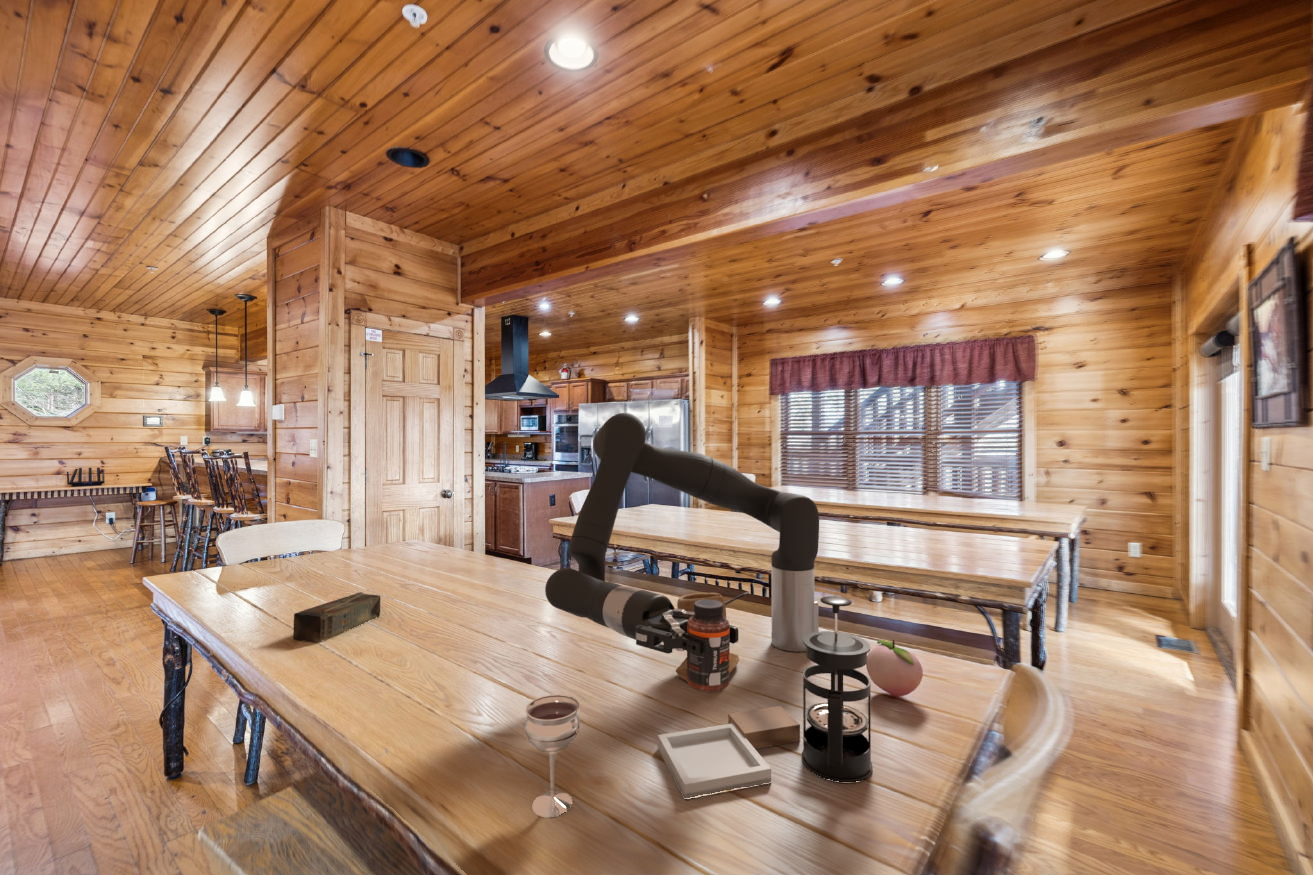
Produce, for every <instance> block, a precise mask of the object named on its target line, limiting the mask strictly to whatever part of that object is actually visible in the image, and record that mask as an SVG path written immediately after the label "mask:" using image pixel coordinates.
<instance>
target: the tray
mask: <svg viewBox="0 0 1313 875" xmlns="http://www.w3.org/2000/svg"><path fill="white" fill-rule="evenodd" d="M657 749H658V752H659V753H660V755H661V758H662V759H663V761H664V763H665V765H666V767H667V769H668V770H670V771H669V773H670V772H671V773H670V774H672V775H671V777H672V776H673V777H672V779H673V778H674V779H675V781H676V782H675V781H674V782H675V784H676V783H677V784H676V786H677V785H678V786H677V788H678V787H679V788H678V790H679V789H680V790H679V792H680V791H681V792H682V794H683V796H684V798H690V797H695V796H698V795H703V794H710V793H711V794H712V793H715V792H720V791H724V790H731V789H734V788H741V787H750V786H754V785H761V784H763V783H769V782H771V783H772V767H771V766H770V765H769V764H768V763H767V761H766V760H765V759H764V757H763V756H761V754H760V753H759V752H758V751H757V750H756V749H755V748H754V747H753V746H752V745H751V744H750V742H749V741H748V740H747V739H746V738H745V736H744V735H743V734H742V733H741V732H740V730H739V729H738V728H737V727H736V725H735V724H734V723H732V724H728V723H727V724H726V723H725V724H719V725H715V726H707V727H701V728H695V729H694V728H693V729H688V730H681V731H675V732H668V733H663V734H662V733H661V734H658V735H657ZM674 779H673V780H674ZM681 792H680V793H681ZM682 794H681V795H682ZM683 796H682V797H683ZM684 798H683V799H684Z"/></svg>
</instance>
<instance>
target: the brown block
mask: <svg viewBox="0 0 1313 875" xmlns="http://www.w3.org/2000/svg"><path fill="white" fill-rule="evenodd" d="M727 714H728V715H727V716H728V717H727V718H728V720H727V721H728V722H727V724H732V723H734V724H735V725H736V727H737V728H738V729H739V730H740V732H741V733H742V734H743V735H744V736H745V738H746V739H747V740H748V741H749V742H750V744H751V745H752V746H753V747H754V748H755V750H756V748H758V749H762V748H761V747H764V748H767V747H766V746H769V747H773V746H772V745H775V746H780V744H781V745H785V744H793V743H798V742H801V724H800V723H799V722H798V721H797V720H796V719H795V718H794V717H793V716H792V715H791V714H790V713H788V712H787V711H786V709H784V708H783V707H782V706H781V705H779V706H777V705H776V706H770V707H765V708H764V707H763V708H758V709H751V710H743V711H738V712H736V711H735V712H732V713H727ZM792 742H793V743H792ZM770 745H771V746H770ZM759 747H760V748H759Z"/></svg>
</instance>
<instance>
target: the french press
mask: <svg viewBox="0 0 1313 875" xmlns="http://www.w3.org/2000/svg"><path fill="white" fill-rule="evenodd" d="M820 602H821V603H822V604H824V605H827V606H831V607H832V613H833V614H834V631H832V630H831V631H829V630H828V631H827V630H826V631H818V632H814V633H810V634H807V635H806V636H804V638H803V643H804V645H805V646H806V651H805V652H806V655H805V656H806V657H807V659H808V660H810V662H812V663H814V665H811V666H808V667H806V668H805V669H804V671H802V672H803V674H802V675H803V676H802V677H803V678H802V684H803V685H802V688H803V689H802V692H803V693H802V694H803V695H802V696H803V697H802V700H803V701H802V703H803V704H802V707H803V708H802V709H803V710H802V712H803V714H802V717H803V719H802V722H803V723H802V725H803V728H802V729H803V732H802V736H803V738H802V739H803V744H802V745H803V750H802V752H801V760H802V763H803V765H804V766H805V768H806V769H807V770H808V771H809V770H810V771H809V772H811V773H812V772H813V773H814V775H815V774H816V775H815V776H817V775H818V776H817V777H819V776H820V777H819V778H821V779H823V778H825V779H824V780H826V779H830V780H833V781H839V782H856V781H862V780H864V781H866V780H868V777H869V776H870V777H871V775H872V774H871V773H873V768H874V767H873V762H872V759H871V758H872V757H871V754H872V753H871V752H872V751H871V750H872V748H871V746H872V742H871V741H872V740H871V738H872V737H871V734H872V733H871V732H872V731H871V729H872V728H871V727H872V725H871V723H872V720H871V718H872V717H871V715H872V714H871V713H872V712H871V704H872V703H871V701H872V700H871V678H870V677H868V675H867V674H865V673H863V672H862V671H860V670H858V669H860V668H863V667H864V666H866V663H867V656H868V654H869V652H870V651H871V645H870V643H869V642H868V641H867V640H866V639H864V638H862V637H860V636H857V635H854V634H850V633H845V632H839V631H838V614H840V607H847V606H850V605H852V604H853V602H852V600H850V599H849V598H846V597H842V596H837V595H829V596H822V597H821V598H820ZM822 674H824V675H825V674H827V675H828V674H830V689H829V688H826V687H822V686H819V685H817V684H815V683H813V682H811V681H810V680H809V679H808V678H810V677H812V676H815V675H822ZM844 676H846V677H849V678H851V679H854V680H857V681H859V682H860V683H862V684H863V685H864V686H865V687H863V688H860V689H856V690H849V691H847V690H844ZM806 690H807V691H808V693H809V692H810V693H811V694H813V695H815V696H817V697H819V698H822V699H826V700H827V702H821V703H820V702H819V703H814V704H812V705H809V706H808V707H807V708H806V706H807V705H806V700H807V698H806V697H807V696H806V695H807V694H806V693H807V692H806ZM865 699H868V700H867V701H868V703H867V704H868V706H867V709H868V711H867V712H868V713H867V716H868V717H867V716H866V715H865V714H864V713H863V712H861V711H859V710H858V709H856V708H854V707H851V706H849V705H845V704H844V702H845V703H848V702H849V703H850V702H858V701H859V702H860V701H862V700H865ZM806 721H807V722H806ZM807 723H808V724H809V726H808V727H806V725H807ZM866 731H867V732H868V733H867V734H868V735H867V736H868V737H867V736H866V735H865V734H864V733H866ZM822 748H827V752H823V751H821V750H819V749H822ZM843 750H844V751H847V752H850V753H851V754H853V755H854V756H853V755H852V756H843V754H844V753H843ZM813 773H812V774H813ZM870 777H869V778H870ZM865 779H866V780H865ZM862 782H863V781H862Z"/></svg>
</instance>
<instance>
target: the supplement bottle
mask: <svg viewBox="0 0 1313 875" xmlns="http://www.w3.org/2000/svg"><path fill="white" fill-rule="evenodd" d="M694 612H695V615H693V616H692V617H690V618H689V620H688V623H687V633H691V634H694V635H697V636H700V637H703V638H706V639H708V641H709V654H708V655H707V656H704V657H703V656H700V655H697V654H695V653H692V652H689V651H686V657H687V681H686V682H687V684H688V686H690V687H691V688H692V689H694V690H697V691H700V692H708V693H715V692H720V691H722V690H725V689H726V688H727V687H728V686H729V685H730V684H729V683H730V677H731V676H730V673H731V672H729V662H730V661H729V654H730V653H731V652H730V649H731V648H730V647H731V646H730V644H731V643H730V634H729V632H730V625H731V624H730V621H729V620H728V619H727V617H726V618H725V617H724V616H723V604H722V603H721V602H720V601H716V600H698V601H696V602H695V603H694Z"/></svg>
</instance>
